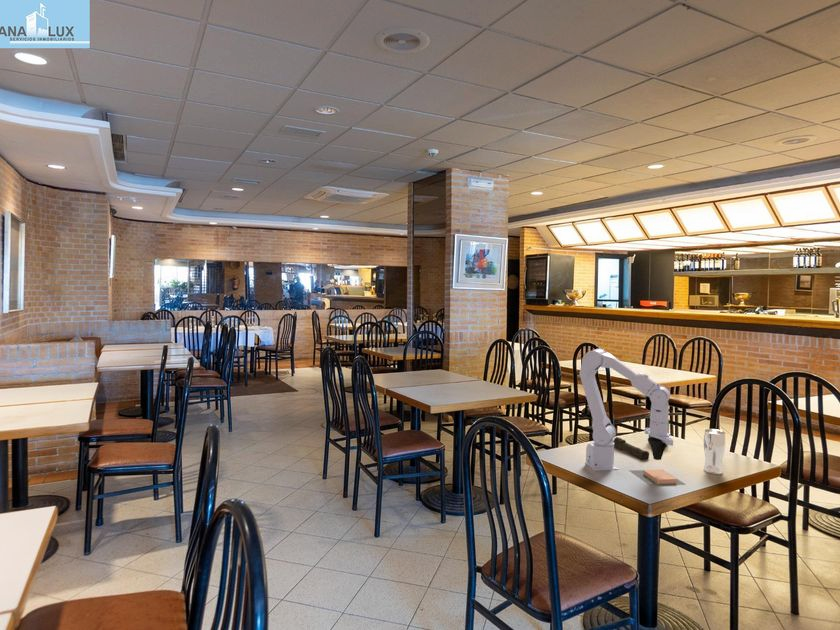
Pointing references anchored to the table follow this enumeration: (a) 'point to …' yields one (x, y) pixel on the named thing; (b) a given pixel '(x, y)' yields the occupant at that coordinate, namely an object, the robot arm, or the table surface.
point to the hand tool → (630, 449)
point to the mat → (640, 474)
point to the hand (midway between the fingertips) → (657, 459)
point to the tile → (660, 476)
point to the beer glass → (714, 450)
